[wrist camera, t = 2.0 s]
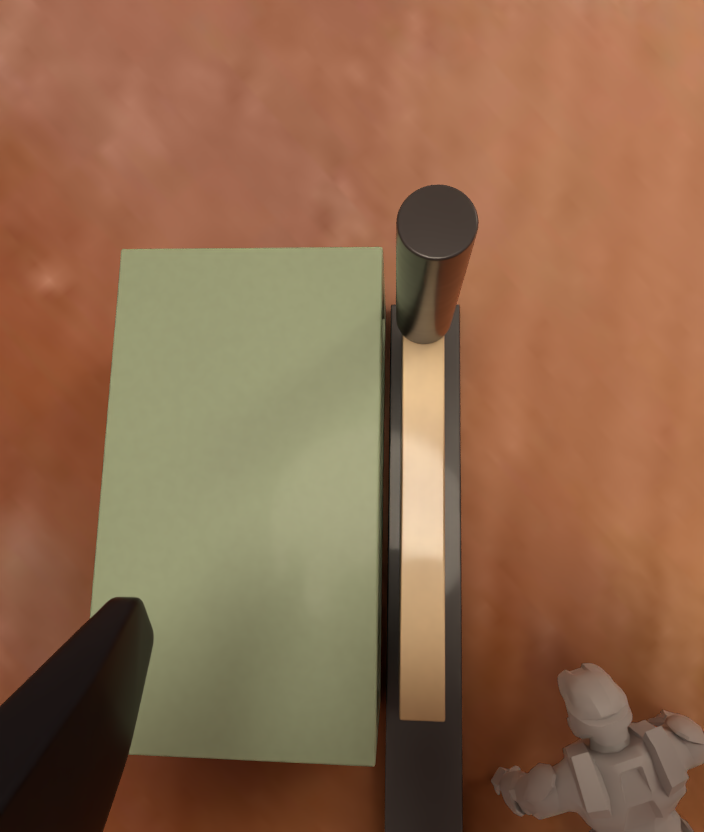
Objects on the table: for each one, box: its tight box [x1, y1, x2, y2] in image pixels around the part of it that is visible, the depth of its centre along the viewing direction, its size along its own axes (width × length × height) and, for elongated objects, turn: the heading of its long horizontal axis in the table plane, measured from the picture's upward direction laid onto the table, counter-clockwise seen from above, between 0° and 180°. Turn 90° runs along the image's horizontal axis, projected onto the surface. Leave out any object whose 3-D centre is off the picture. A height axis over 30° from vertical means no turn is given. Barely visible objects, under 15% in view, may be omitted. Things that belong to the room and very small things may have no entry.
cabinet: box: [90, 247, 463, 832], centre depth 19 cm, size 20×10×6 cm, turn 179°
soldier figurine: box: [491, 663, 704, 832], centre depth 18 cm, size 6×5×12 cm
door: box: [396, 185, 478, 722], centre depth 16 cm, size 12×2×10 cm, turn 179°
